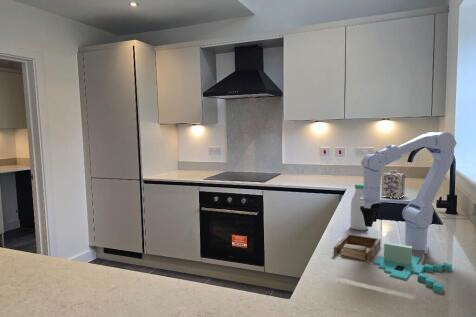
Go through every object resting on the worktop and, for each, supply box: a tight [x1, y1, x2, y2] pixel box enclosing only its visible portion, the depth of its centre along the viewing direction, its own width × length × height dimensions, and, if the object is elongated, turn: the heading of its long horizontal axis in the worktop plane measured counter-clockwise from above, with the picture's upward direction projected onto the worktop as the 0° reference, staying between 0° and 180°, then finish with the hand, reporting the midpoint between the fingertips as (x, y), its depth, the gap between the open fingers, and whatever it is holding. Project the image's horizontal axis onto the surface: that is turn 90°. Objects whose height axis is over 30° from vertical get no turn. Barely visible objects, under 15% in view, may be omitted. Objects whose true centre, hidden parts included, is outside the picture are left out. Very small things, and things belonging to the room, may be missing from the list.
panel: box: [383, 241, 413, 265], centre depth 108 cm, size 2×8×6 cm, turn 57°
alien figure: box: [373, 255, 453, 294], centre depth 104 cm, size 20×2×20 cm
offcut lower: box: [341, 249, 368, 259], centre depth 115 cm, size 4×8×2 cm, turn 57°
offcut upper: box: [343, 244, 366, 254], centre depth 115 cm, size 4×7×2 cm, turn 61°
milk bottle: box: [350, 183, 369, 231], centre depth 150 cm, size 8×8×20 cm
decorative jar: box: [381, 169, 406, 198], centre depth 221 cm, size 12×12×18 cm
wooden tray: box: [333, 233, 382, 264], centre depth 119 cm, size 18×12×4 cm, turn 147°
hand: (370, 223), depth 122 cm, fingers open, 7 cm apart
